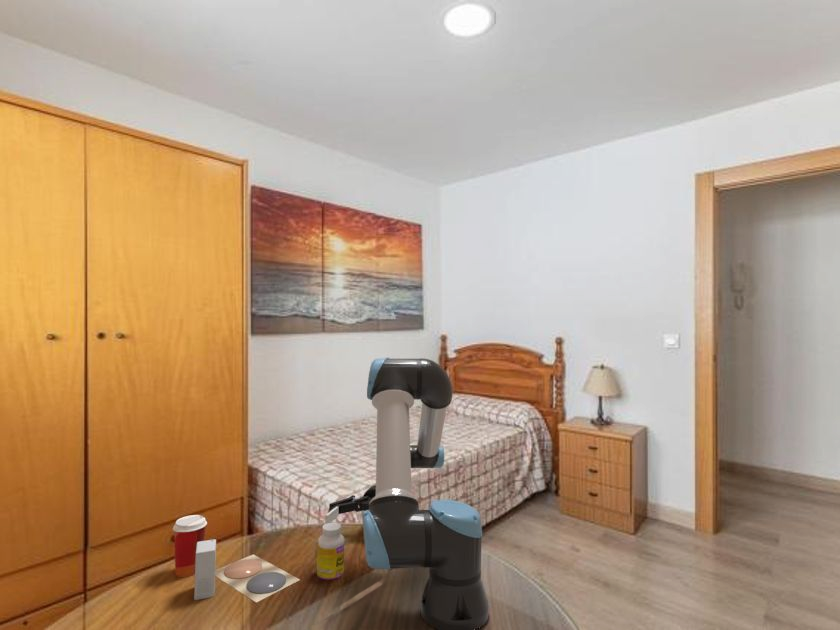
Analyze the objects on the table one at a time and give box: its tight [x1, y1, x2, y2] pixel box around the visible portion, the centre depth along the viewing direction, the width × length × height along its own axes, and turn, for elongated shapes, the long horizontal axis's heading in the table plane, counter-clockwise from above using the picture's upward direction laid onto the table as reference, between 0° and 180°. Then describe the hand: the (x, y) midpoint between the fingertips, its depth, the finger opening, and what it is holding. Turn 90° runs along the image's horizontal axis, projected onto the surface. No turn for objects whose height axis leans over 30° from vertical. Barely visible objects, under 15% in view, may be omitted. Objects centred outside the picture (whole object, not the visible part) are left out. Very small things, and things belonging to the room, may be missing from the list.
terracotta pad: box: [224, 559, 262, 579], centre depth 115 cm, size 9×9×1 cm
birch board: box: [215, 553, 301, 604], centre depth 111 cm, size 20×12×2 cm, turn 53°
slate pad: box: [247, 572, 286, 594], centre depth 108 cm, size 9×9×1 cm
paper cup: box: [172, 514, 208, 578], centre depth 114 cm, size 8×8×14 cm
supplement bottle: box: [316, 522, 345, 580], centre depth 114 cm, size 7×7×13 cm
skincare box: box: [193, 539, 217, 601], centre depth 105 cm, size 6×4×12 cm
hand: (348, 523), depth 124 cm, fingers open, 13 cm apart
